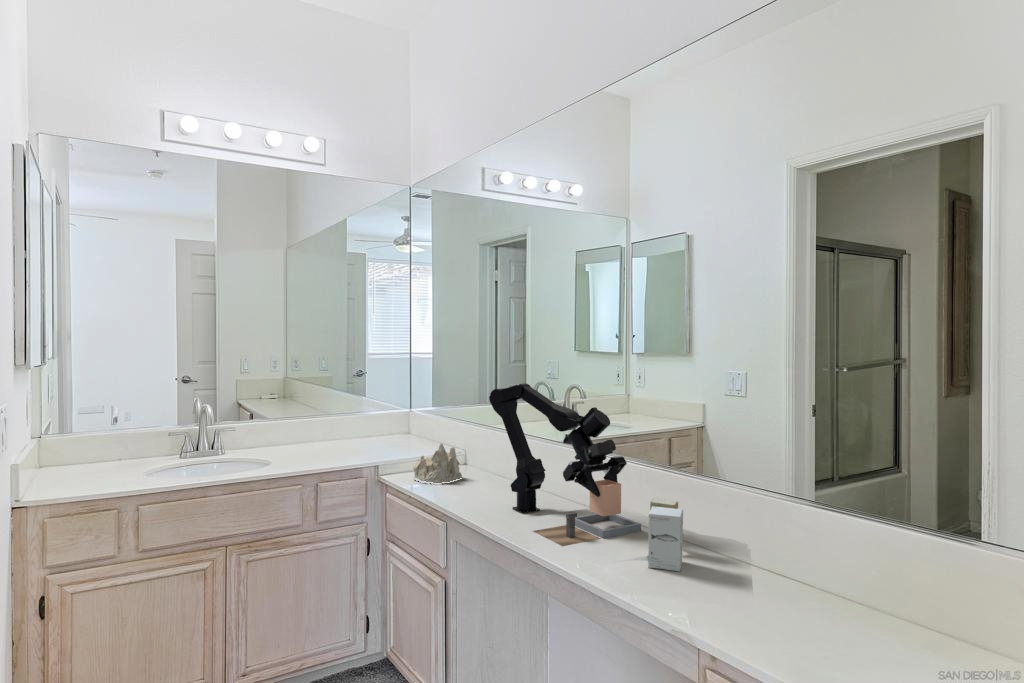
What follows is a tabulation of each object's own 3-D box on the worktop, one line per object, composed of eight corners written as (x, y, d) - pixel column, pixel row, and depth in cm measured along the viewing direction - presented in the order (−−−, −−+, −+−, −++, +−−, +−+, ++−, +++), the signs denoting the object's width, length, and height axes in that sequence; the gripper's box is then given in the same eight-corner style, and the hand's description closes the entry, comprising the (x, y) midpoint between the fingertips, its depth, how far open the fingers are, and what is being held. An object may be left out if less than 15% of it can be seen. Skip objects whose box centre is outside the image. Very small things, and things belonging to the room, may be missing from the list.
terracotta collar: (586, 509, 169) (586, 480, 169) (603, 506, 172) (603, 478, 172) (603, 516, 163) (603, 486, 163) (621, 513, 166) (621, 483, 166)
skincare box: (648, 550, 153) (648, 501, 153) (653, 545, 157) (653, 497, 157) (674, 554, 150) (674, 504, 150) (678, 549, 154) (678, 500, 154)
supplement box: (647, 568, 141) (647, 513, 141) (651, 557, 148) (651, 505, 148) (680, 572, 138) (680, 516, 138) (683, 561, 145) (683, 508, 145)
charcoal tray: (570, 529, 170) (570, 517, 170) (608, 522, 176) (608, 511, 176) (602, 544, 158) (602, 531, 158) (641, 536, 164) (641, 523, 164)
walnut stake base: (532, 536, 164) (532, 508, 164) (569, 529, 170) (569, 502, 170) (562, 552, 151) (562, 521, 152) (601, 544, 157) (601, 515, 157)
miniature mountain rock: (468, 478, 233) (465, 439, 233) (435, 488, 221) (432, 446, 221) (441, 475, 243) (438, 437, 243) (408, 484, 231) (405, 444, 231)
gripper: (569, 432, 166) (594, 481, 156) (622, 427, 175) (649, 474, 166) (552, 456, 173) (575, 505, 163) (605, 451, 182) (629, 496, 172)
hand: (608, 494), depth 166 cm, fingers closed on terracotta collar, 6 cm apart
